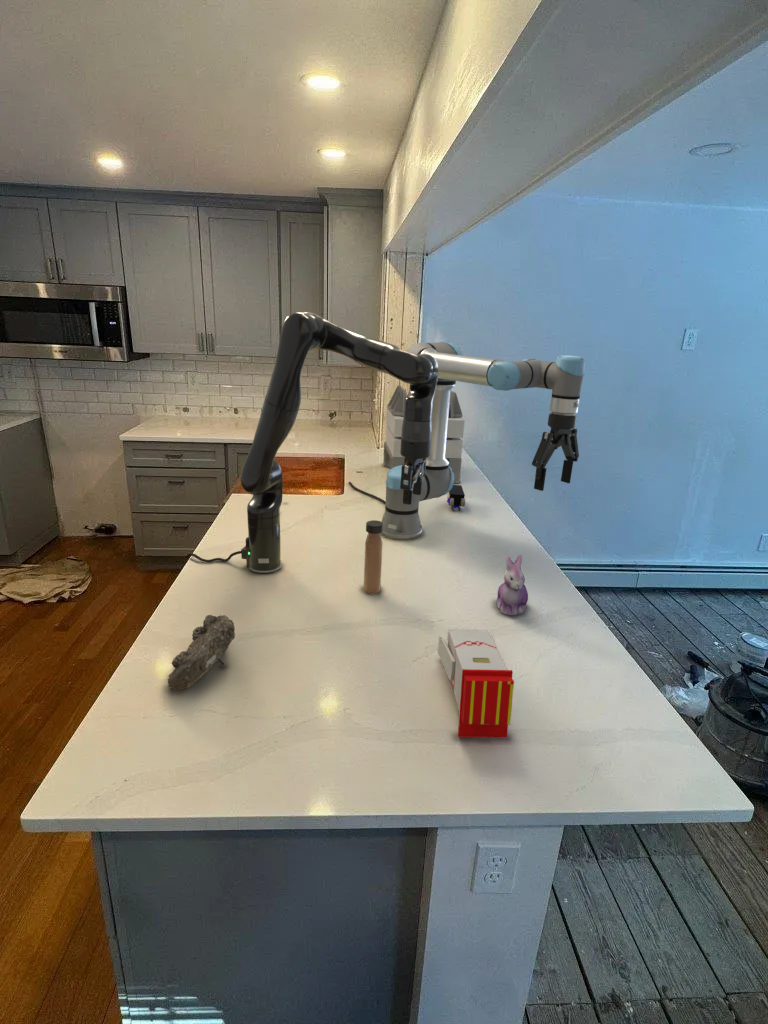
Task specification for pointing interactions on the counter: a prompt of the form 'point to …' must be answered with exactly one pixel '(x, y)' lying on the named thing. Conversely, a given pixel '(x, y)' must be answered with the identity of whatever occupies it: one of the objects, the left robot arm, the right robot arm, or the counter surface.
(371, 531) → the cap
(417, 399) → the left robot arm
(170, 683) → the fossil
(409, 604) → the counter surface
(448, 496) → the figurine character
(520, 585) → the figurine
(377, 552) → the bottle
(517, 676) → the counter surface
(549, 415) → the right robot arm
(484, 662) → the toy
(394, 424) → the grey slatted crate
